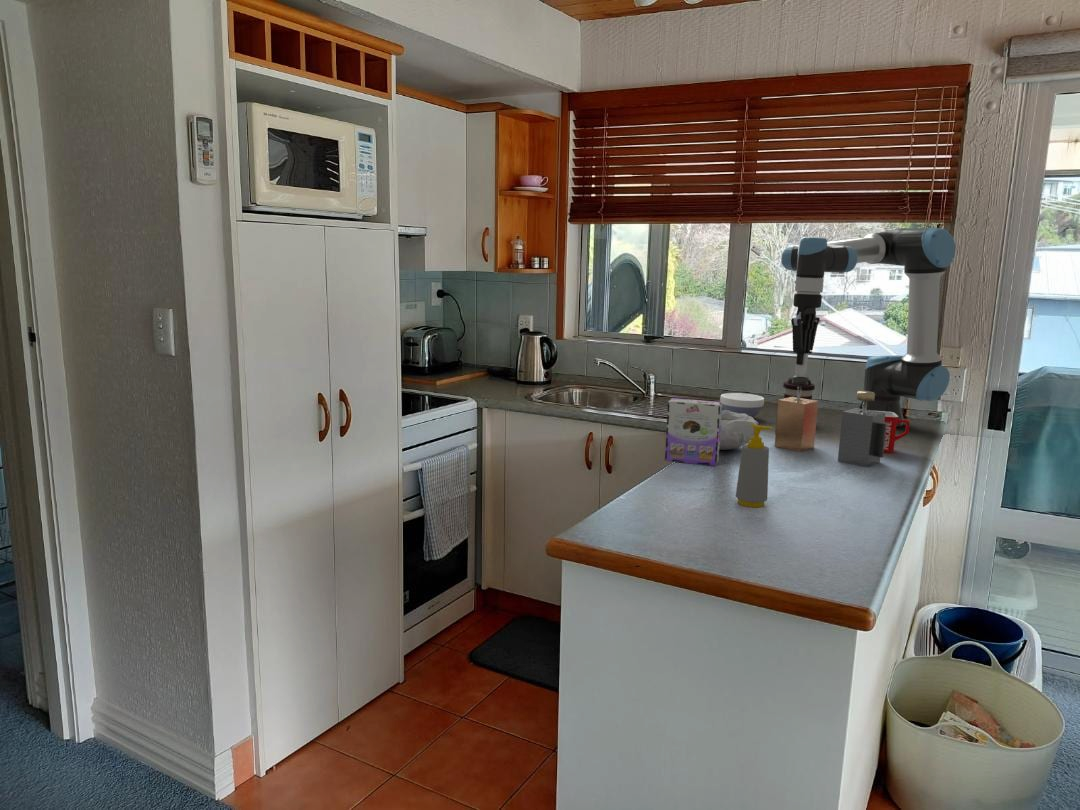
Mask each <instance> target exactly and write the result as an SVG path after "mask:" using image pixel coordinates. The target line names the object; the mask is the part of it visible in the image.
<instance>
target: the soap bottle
mask: <svg viewBox="0 0 1080 810" xmlns="http://www.w3.org/2000/svg"><path fill="white" fill-rule="evenodd" d="M750 426H753V427H754V436H753V437H751V440H750V441H748V443H747V444H745V445H743V446H741V455H740V460H739V461H740V462H739V469H738V476H737V477H738V478H737V483H736V492H735V498H737V503H738V504H739V505H742V506H744V507H749V508H761V507H763V506H764V504H765V502H767V501H768V489H769V486H768V485H769V462H770V461H769V458H770V456H769V455H770V448H769V447H768V446H766V445H765V443H764V442H763V441H762V439H763V438H762V437H761V436H760V435H759V434H761V431H766V430H767V431H768V430H774V427H772V426H764V425H754V424H750Z"/></svg>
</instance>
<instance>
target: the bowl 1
mask: <svg viewBox="0 0 1080 810" xmlns="http://www.w3.org/2000/svg"><path fill="white" fill-rule="evenodd" d="M719 402H722V410H723V411H724V410H729V411H732V412H735V413H738V414H747V415H748V416H751V417H752V418H753V419H754V420H755V418H756V416H758V415H759V413H760V411H761V410H762V408H763V407H764V404H765V398H764V396H761V395H757V394H753V393H744V392H743V393H740V392H726V393H722V394H721V395H720V398H719Z"/></svg>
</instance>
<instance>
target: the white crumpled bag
mask: <svg viewBox="0 0 1080 810" xmlns="http://www.w3.org/2000/svg"><path fill="white" fill-rule="evenodd" d="M750 424H754V425H759V422H758V421H757V420H755V418H754V419H753V418H752V417H751V416H748V415H747V414H738V413H735V412H732V411H729V410H724V409H723V410H722V414H721V433H720V447H719V451H720V450H721V451H722V450H723V451H729V450H736V449H738V448H739V449H740V448H742V446H743V445H746V444H748V441H751V437H753V436H754V427H753V426H750ZM759 426H760V425H759Z"/></svg>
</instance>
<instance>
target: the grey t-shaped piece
mask: <svg viewBox="0 0 1080 810" xmlns="http://www.w3.org/2000/svg"><path fill="white" fill-rule="evenodd" d="M791 378H792V383H793V384H797V385H798V391H797V401H800V398H801V387H802V385H808V379H809V376H807V375H806V376H805V377H801V376H795V375H792V377H791ZM809 380H810V379H809Z"/></svg>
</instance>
